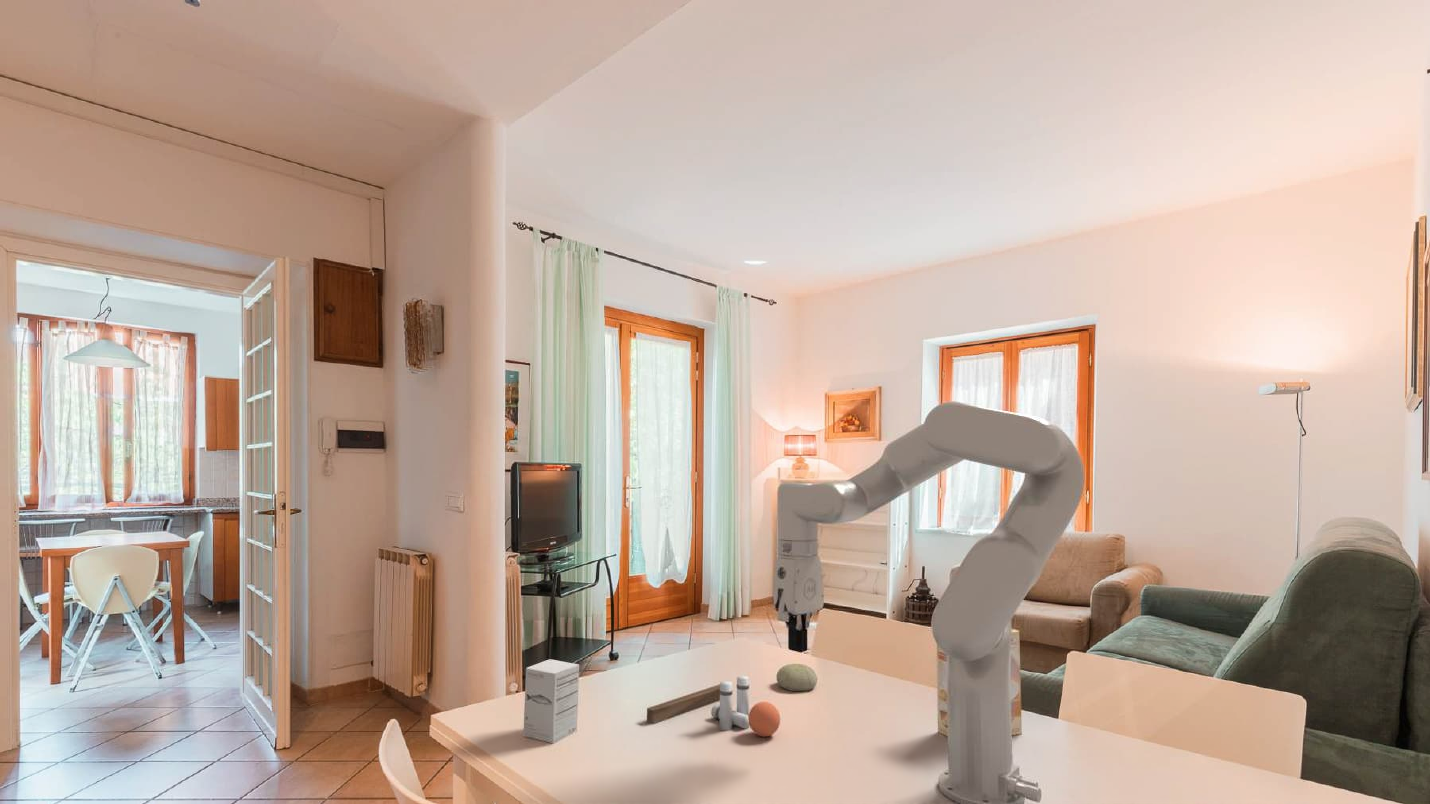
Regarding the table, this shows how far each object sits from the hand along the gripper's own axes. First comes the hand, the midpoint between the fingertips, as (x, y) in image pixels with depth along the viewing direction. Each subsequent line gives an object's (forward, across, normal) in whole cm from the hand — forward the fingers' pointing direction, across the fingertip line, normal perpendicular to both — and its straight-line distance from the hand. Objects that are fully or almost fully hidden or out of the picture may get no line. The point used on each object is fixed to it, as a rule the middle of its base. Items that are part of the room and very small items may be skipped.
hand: (797, 650), depth 126 cm
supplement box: (+17, -28, +37) cm, 50 cm away
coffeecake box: (+17, +30, -21) cm, 41 cm away
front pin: (+16, 0, +12) cm, 20 cm away
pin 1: (+17, -2, +16) cm, 23 cm away
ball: (+14, 0, +8) cm, 16 cm away
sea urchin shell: (+18, +28, +21) cm, 39 cm away
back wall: (+17, 0, +28) cm, 33 cm away
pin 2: (+17, +2, +16) cm, 23 cm away
